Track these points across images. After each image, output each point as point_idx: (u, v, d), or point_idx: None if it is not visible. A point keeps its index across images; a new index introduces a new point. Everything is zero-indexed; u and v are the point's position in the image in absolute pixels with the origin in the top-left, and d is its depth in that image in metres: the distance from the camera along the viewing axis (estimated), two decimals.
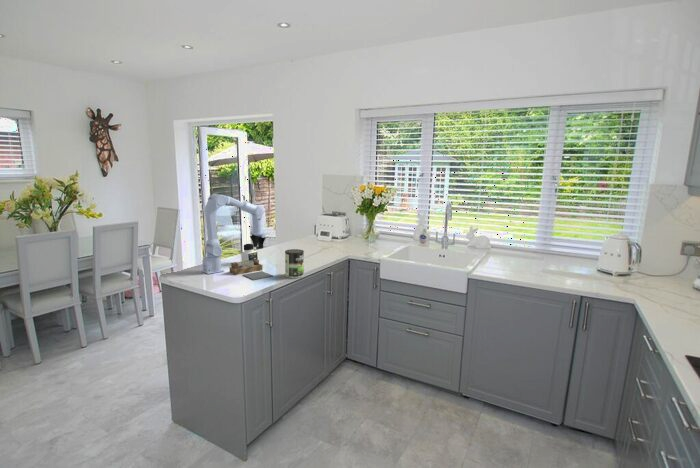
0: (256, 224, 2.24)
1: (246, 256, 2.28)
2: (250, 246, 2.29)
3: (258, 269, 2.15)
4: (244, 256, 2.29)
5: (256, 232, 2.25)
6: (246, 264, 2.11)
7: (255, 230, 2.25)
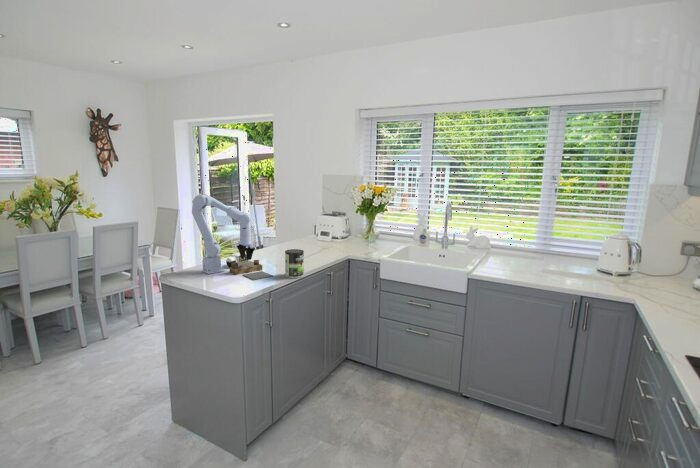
0: (241, 233, 2.08)
1: None
2: None
3: (258, 269, 2.15)
4: None
5: (244, 242, 2.08)
6: (246, 264, 2.11)
7: (243, 240, 2.08)
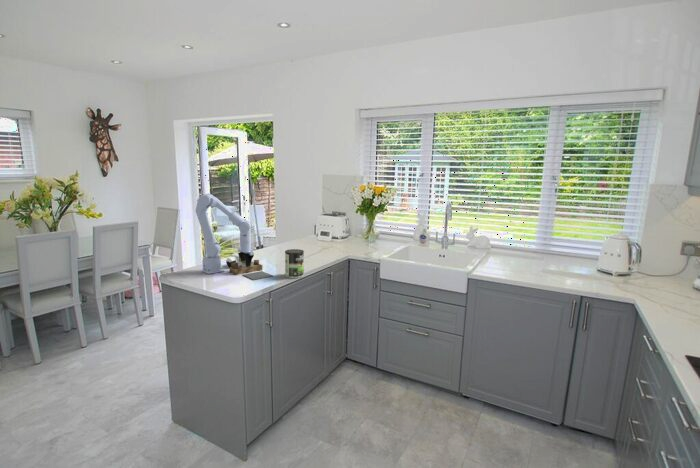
0: (241, 240, 2.09)
1: None
2: None
3: (258, 269, 2.15)
4: None
5: (244, 249, 2.09)
6: None
7: (243, 247, 2.09)
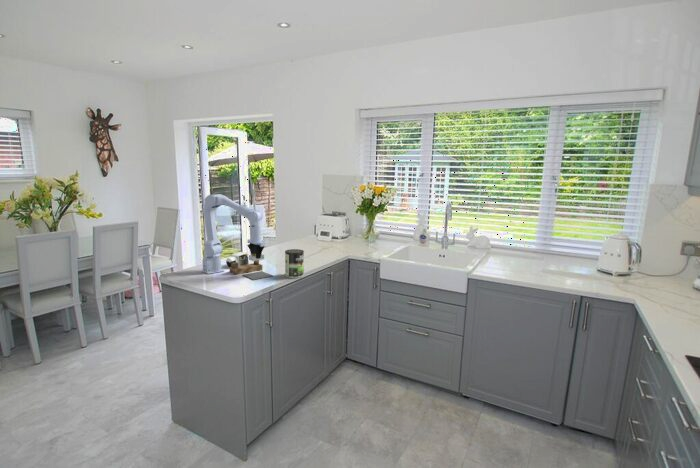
0: (250, 231, 2.00)
1: None
2: None
3: (258, 269, 2.15)
4: None
5: (254, 240, 2.00)
6: None
7: (253, 238, 2.00)
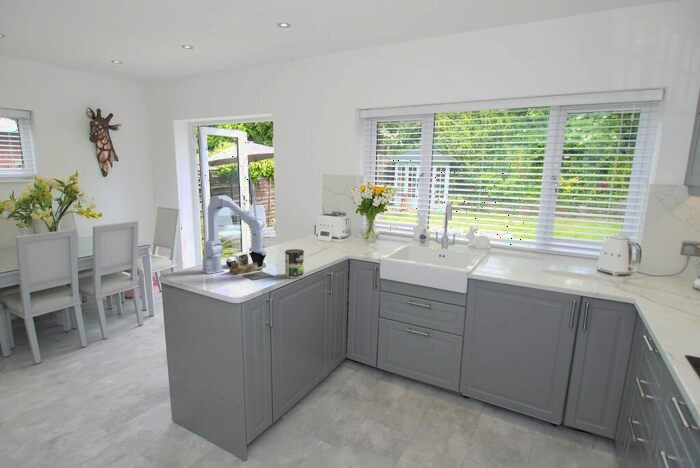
0: (252, 239, 2.00)
1: None
2: None
3: (258, 269, 2.15)
4: None
5: (256, 249, 1.99)
6: None
7: (255, 246, 1.99)
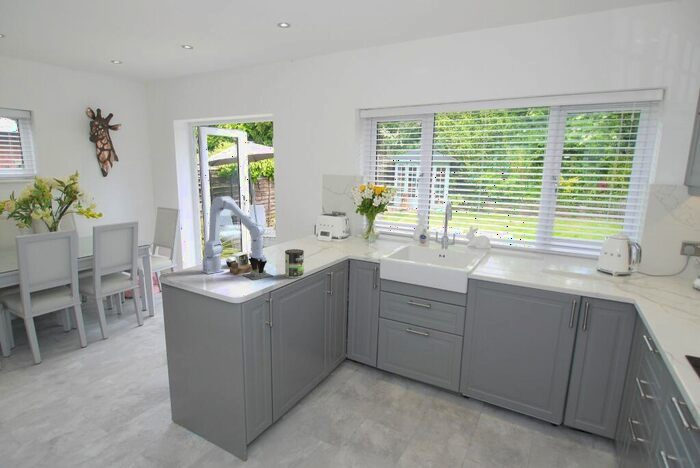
0: (252, 245, 2.00)
1: None
2: None
3: None
4: None
5: (256, 255, 2.00)
6: (258, 273, 2.02)
7: (255, 252, 2.00)
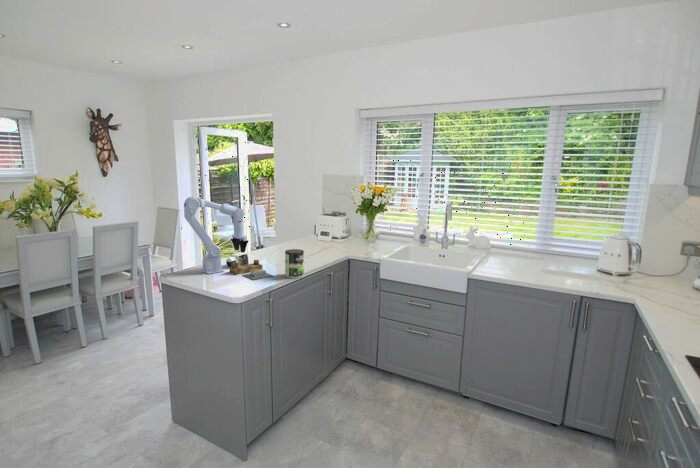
0: (236, 227, 2.13)
1: None
2: None
3: None
4: None
5: (237, 235, 2.14)
6: (258, 273, 2.02)
7: (236, 233, 2.13)
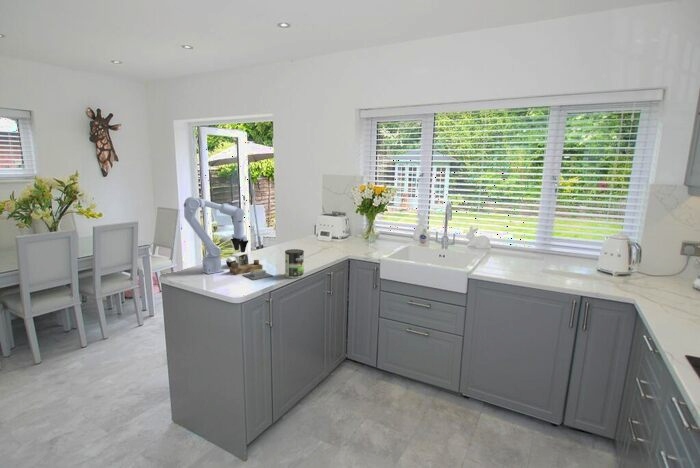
0: (236, 227, 2.13)
1: None
2: None
3: None
4: None
5: (237, 235, 2.14)
6: (258, 273, 2.02)
7: (236, 233, 2.14)
